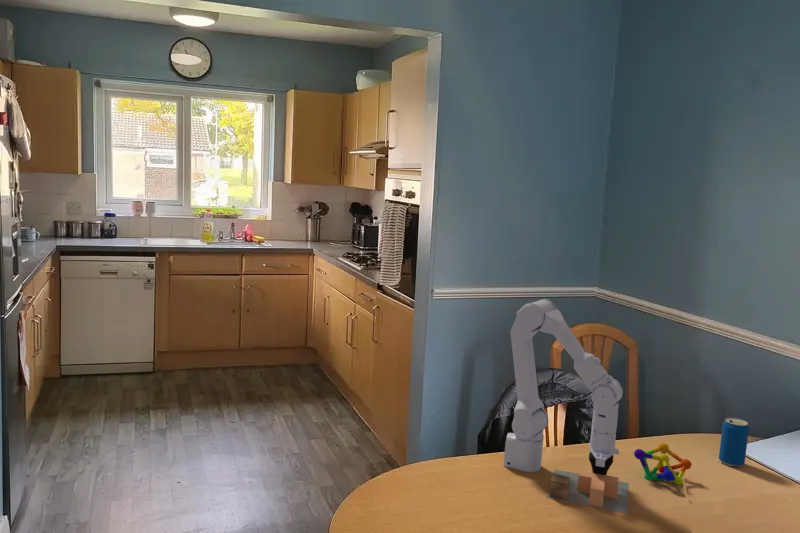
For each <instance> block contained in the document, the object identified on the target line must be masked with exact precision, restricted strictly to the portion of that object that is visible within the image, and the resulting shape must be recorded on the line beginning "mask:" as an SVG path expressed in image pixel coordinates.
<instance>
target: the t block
mask: <svg viewBox="0 0 800 533" xmlns="http://www.w3.org/2000/svg"><path fill="white" fill-rule="evenodd" d="M578 474H579V478H578V489H577V491H579V492H584V493H589V494H590V497H589V505H593V506H598V507H602V506H603V496H605V497H610V498H615V499H617V490H618V481H619V477H617V476H611V475H607V474H606V475H602V474H596V473H593V472H590V471H584V470H579V472H578Z"/></svg>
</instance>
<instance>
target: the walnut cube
mask: <svg viewBox="0 0 800 533" xmlns="http://www.w3.org/2000/svg"><path fill="white" fill-rule="evenodd" d="M551 475H552V476H551V478H550V485H549V488H550V496H549V497H554V498H559V499H564V500H567V497H568V492H569V482H570V477H568V476H563V475H557V474H554V473H552V474H551Z"/></svg>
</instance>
